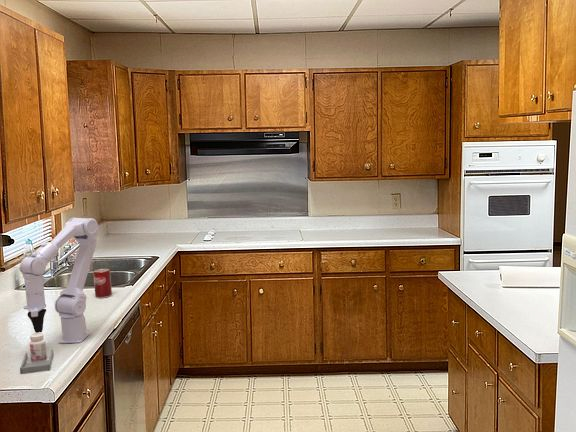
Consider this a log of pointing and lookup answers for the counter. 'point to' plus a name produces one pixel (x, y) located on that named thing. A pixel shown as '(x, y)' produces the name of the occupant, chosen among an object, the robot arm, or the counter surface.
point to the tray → (35, 365)
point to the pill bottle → (37, 347)
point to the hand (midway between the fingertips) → (38, 332)
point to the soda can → (102, 283)
